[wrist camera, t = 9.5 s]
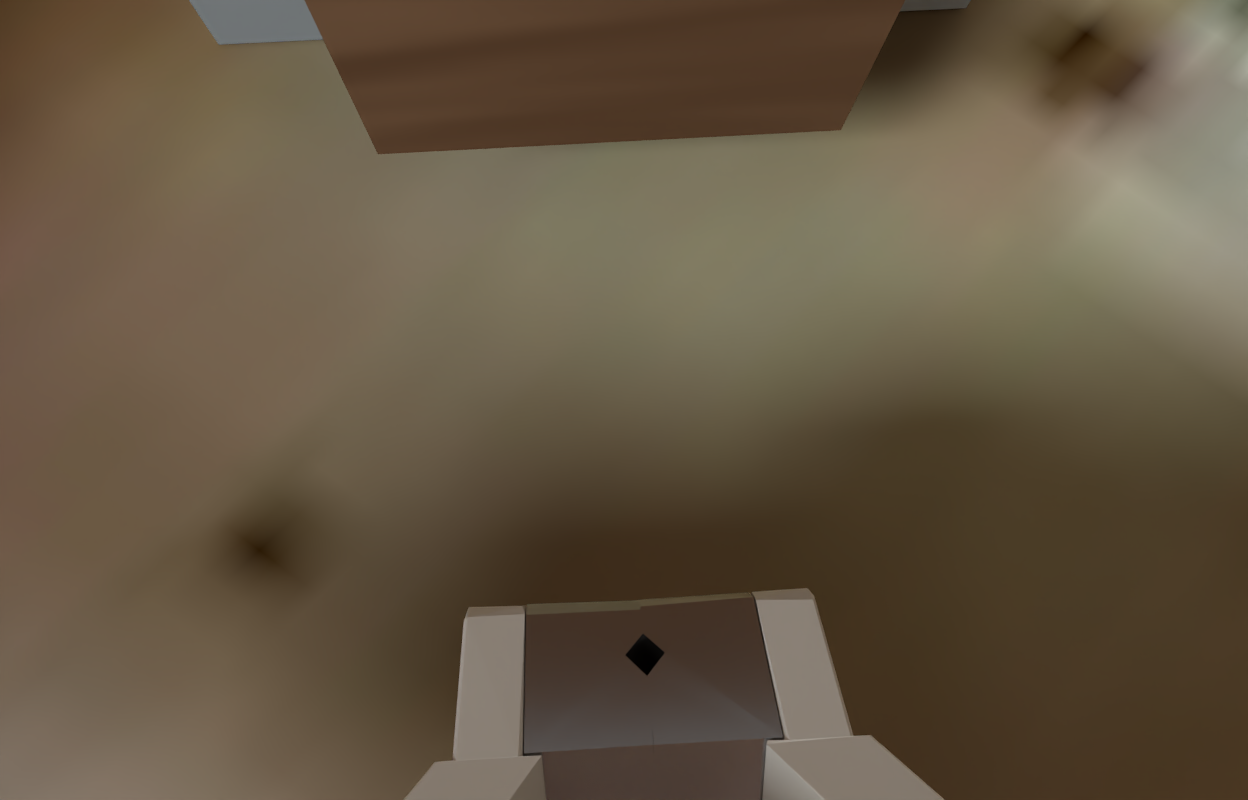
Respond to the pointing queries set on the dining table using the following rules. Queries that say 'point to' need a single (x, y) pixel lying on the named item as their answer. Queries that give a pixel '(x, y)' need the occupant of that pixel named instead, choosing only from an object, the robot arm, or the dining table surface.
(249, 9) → the grey rectangular block
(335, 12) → the shaft
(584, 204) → the dining table surface
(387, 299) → the dining table surface
